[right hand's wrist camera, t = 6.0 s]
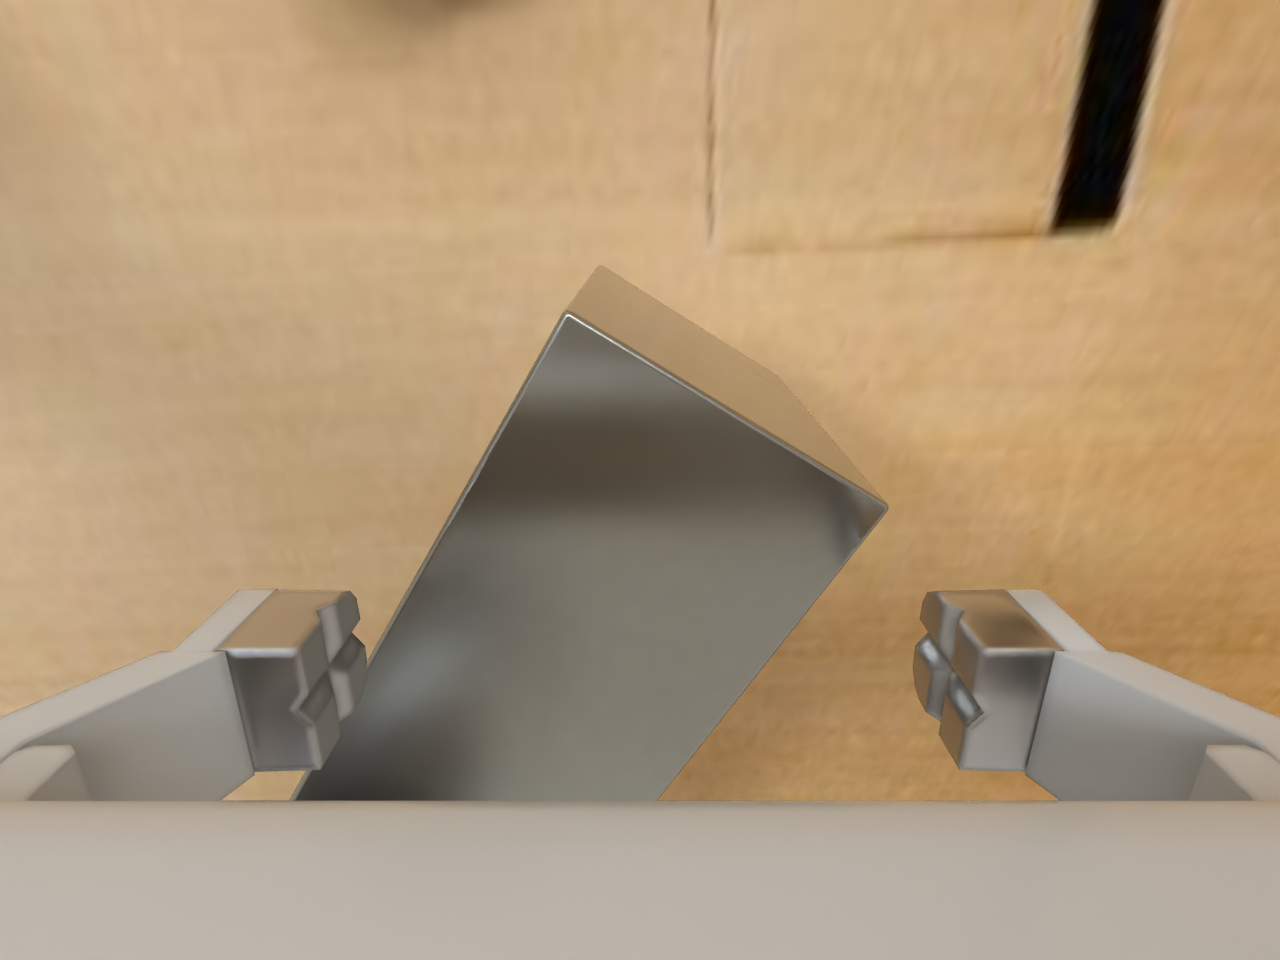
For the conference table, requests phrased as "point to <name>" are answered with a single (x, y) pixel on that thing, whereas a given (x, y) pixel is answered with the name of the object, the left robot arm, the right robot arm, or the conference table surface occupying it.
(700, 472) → the bar
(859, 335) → the conference table surface
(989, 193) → the conference table surface
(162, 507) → the conference table surface
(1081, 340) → the conference table surface
